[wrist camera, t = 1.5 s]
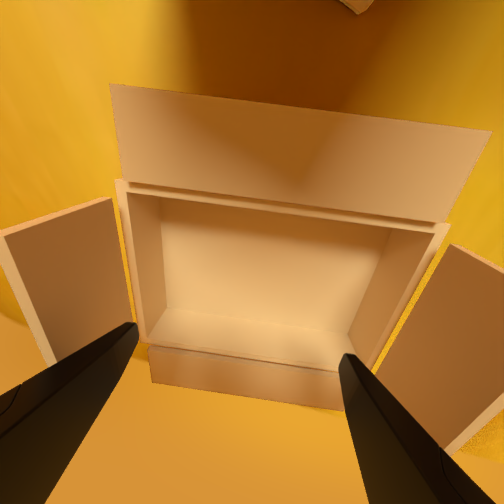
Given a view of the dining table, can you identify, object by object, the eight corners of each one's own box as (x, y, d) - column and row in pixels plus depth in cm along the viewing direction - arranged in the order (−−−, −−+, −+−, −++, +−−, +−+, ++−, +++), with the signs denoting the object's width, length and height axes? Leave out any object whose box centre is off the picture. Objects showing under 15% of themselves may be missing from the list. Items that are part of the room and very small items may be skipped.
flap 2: (450, 243, 10) (459, 245, 9) (372, 378, 14) (379, 380, 14) (581, 317, 5) (600, 320, 5) (410, 481, 9) (419, 484, 9)
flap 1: (3, 236, 5) (-13, 234, 5) (86, 431, 10) (77, 430, 10) (111, 197, 10) (102, 196, 10) (136, 343, 14) (130, 343, 14)
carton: (437, 139, 11) (511, 133, 8) (337, 365, 19) (352, 412, 16) (145, 102, 12) (91, 80, 8) (165, 340, 20) (142, 381, 16)
